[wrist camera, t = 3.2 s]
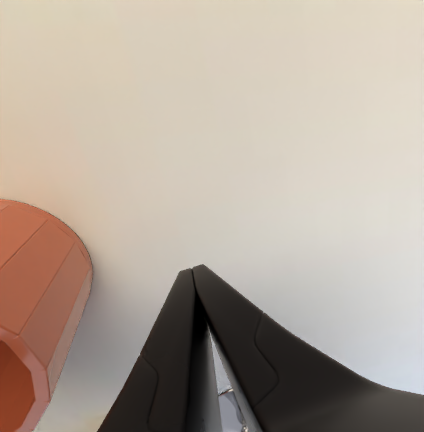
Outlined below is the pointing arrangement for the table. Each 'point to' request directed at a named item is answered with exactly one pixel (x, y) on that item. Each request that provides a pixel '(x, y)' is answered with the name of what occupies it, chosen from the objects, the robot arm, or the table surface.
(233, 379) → the robot arm
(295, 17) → the table surface
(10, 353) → the cup
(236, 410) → the wine glass
